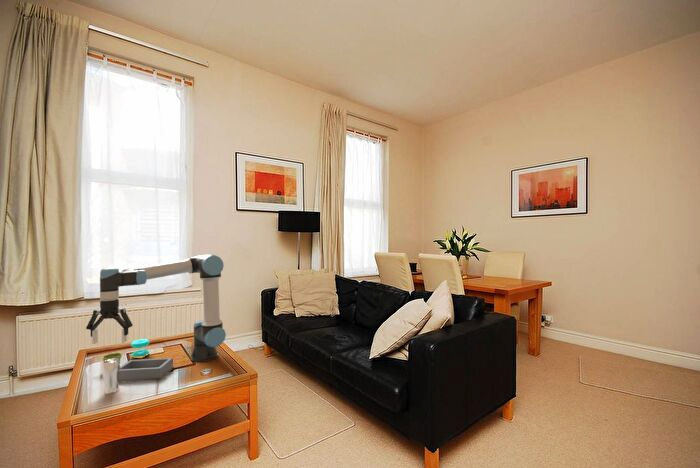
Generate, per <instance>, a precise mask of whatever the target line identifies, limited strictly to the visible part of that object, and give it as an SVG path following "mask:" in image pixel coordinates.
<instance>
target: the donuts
mask: <svg viewBox="0 0 700 468" xmlns="http://www.w3.org/2000/svg"><path fill="white" fill-rule="evenodd" d="M150 341H151V340H149V339H147V338H140V339H136V340H134V341H132V342H131V344H130V347H132V348H133V349H138V350H135V351H134V352H132V353H131V355H130V357H131V356H134V357H135V356H144V355H146V354H148V353H149V352H150V351H149V350H148V349H141V348H145V347H147V346H148V345H149V344H150Z"/></svg>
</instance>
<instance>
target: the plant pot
mask: <svg viewBox="0 0 700 468" xmlns="http://www.w3.org/2000/svg"><path fill="white" fill-rule="evenodd" d="M122 356H123V353H122V352H113V353H108V354H106V355H103V356H102V357H101V358H102V361H103V362H104V361H105V360H108V359H114V358H118V359H119V363H120V364H121V358H122Z"/></svg>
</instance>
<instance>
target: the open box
mask: <svg viewBox="0 0 700 468" xmlns="http://www.w3.org/2000/svg"><path fill="white" fill-rule="evenodd" d="M172 368H173V369H174V358H173V357H168V358H167V357H166V358H148V359H147V358H144V359H143V358H141V359H130V360H128V361H127V362H125V363H124V364H122V365H120V372H119V378H118V383H125V382H126V383H127V382H141V381H143V382H144V381H159V380H162V379H163V378H164V377H165V376H166V375H168V374H169V372H171V371H172V370H173V369H172Z"/></svg>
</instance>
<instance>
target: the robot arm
mask: <svg viewBox="0 0 700 468" xmlns="http://www.w3.org/2000/svg"><path fill="white" fill-rule="evenodd" d="M224 267H225V266H224V262H223V259H222V258H221V257H219V256H218V255H216V254H201V255H197V256H196V255H195V256H192V257H187V258H186V259H184V260H178V261H172V262H165V263H160V264H153V265H147V266H140V267H135V268H126V269H123V270H121V271H120V270H119V268H118V267H107V268H102V269H101V270H100V274H99V300H100V301H99V308H100V309H99V308H98V309H94V310H93V311H92V315H91V318H90V319H89V321H88V323H87V326H86V328H85V330H90V337H91V338H92V341H91V342H92V345H94V344H97V343H98V341H99V340H98V339H99V337H98V336H99V334H98V331H99V330H98V329H97V328H98V327H99V325H100V324H101V323H102V322H103V321H104V320H107V319H109V320H112V319H113V320H115V321H116V322H117V323H118V324H119V325H120V326H121V327H122V329H121V344H123V343H124V344H125V343H126V342H127V341H128V337H127V336H128V335H129V328H132V327H133V323H132V321H131V320H130V317H129V316H128V313H127V309H126V308H125V307H124V308H122V309H121V308H119V306H120V303H119V302H120V299H119V297H120V293H119V291H120V290H119V289H120V287H129V286H141V285H145V284H146V283H147V281H148V280H154V279H159V278H164V277H169V276H176V275H181V274H182V275H183V274H185V273H188V274H190V275H191V274H199V278H200V280H201V281H202V288H203V289H202V292H203V294H202V295H203V296H202V297H203V320H198V321H195V322H194V323H193V349H192V352H191V355H190V360H191V361H192V362H195V363H197V362H198V363H199V362H202V363H203V362H207V361H212V360H214V359H216V358H217V357H218V350H217V347H219V346H221V345H222V344H223V343H224V341H225V340H226V334H227V333H226V330H225V329H224V327H223V320H221V319H220V315H221V314H220V291H219V290H220V288H219V286H220V285H219V280H220V278H221V277H222V272H223V270H224ZM99 314H100V316H99ZM98 316H99V318H98Z"/></svg>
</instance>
